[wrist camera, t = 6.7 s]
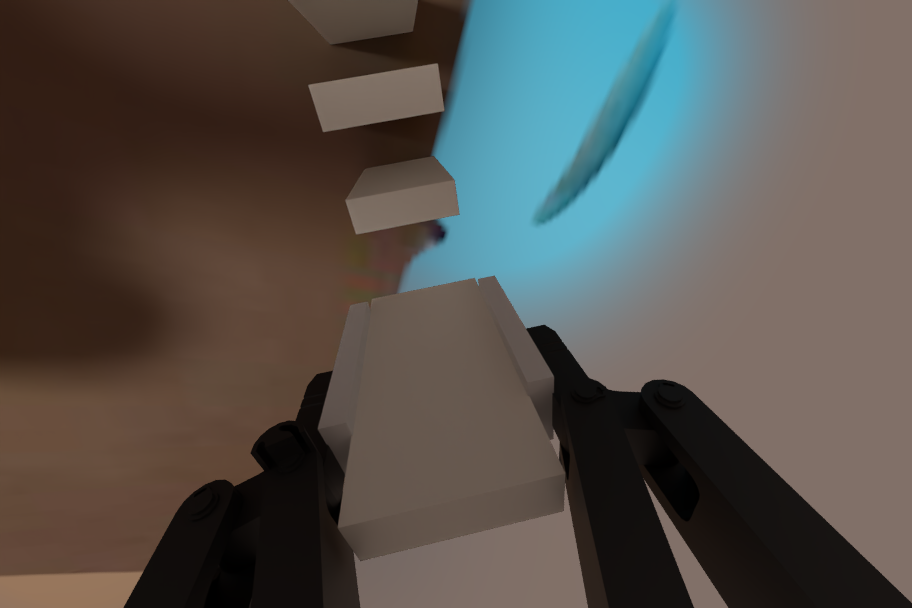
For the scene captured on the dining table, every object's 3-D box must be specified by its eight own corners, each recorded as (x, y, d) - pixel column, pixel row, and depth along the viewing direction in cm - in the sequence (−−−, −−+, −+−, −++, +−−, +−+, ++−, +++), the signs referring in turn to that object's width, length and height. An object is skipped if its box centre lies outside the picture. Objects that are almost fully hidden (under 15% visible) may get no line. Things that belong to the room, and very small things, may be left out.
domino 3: (426, 112, 22) (444, 110, 13) (352, 125, 22) (323, 132, 13) (421, 84, 21) (437, 63, 13) (345, 97, 21) (307, 85, 12)
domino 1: (478, 305, 16) (563, 510, 8) (381, 326, 16) (360, 561, 8) (474, 278, 16) (565, 473, 7) (371, 298, 15) (337, 528, 7)
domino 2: (437, 179, 24) (459, 214, 16) (371, 191, 24) (356, 234, 15) (433, 156, 23) (454, 180, 15) (364, 168, 23) (345, 200, 14)
